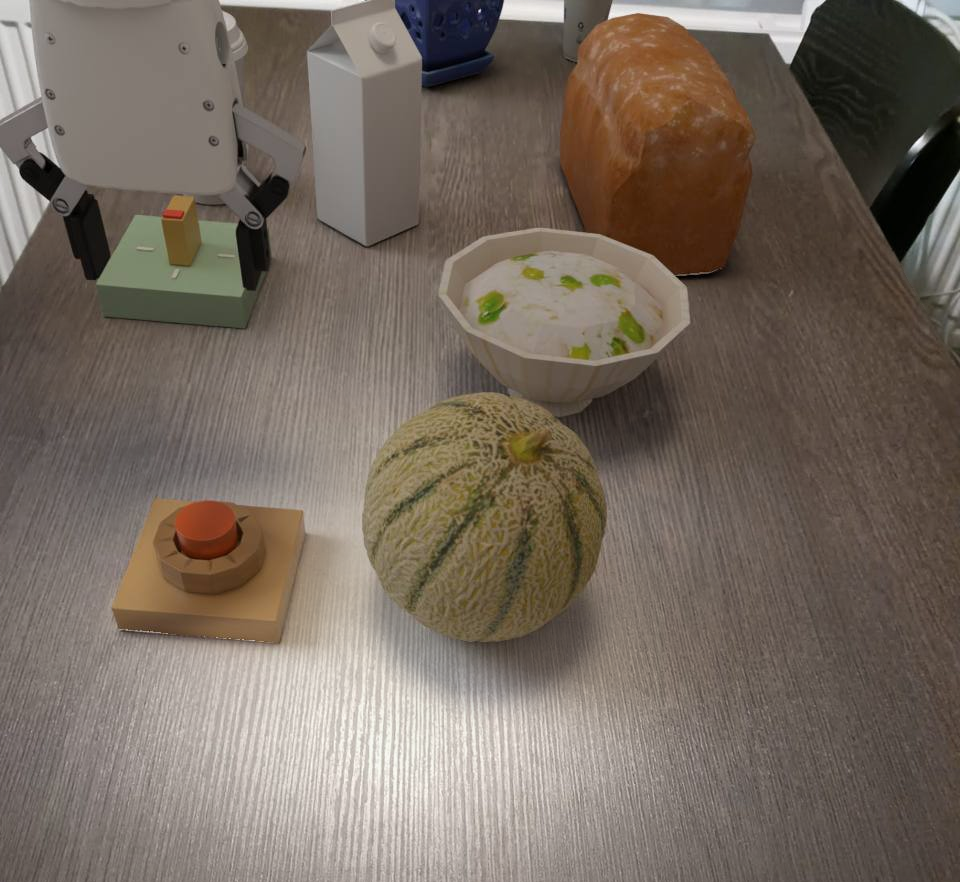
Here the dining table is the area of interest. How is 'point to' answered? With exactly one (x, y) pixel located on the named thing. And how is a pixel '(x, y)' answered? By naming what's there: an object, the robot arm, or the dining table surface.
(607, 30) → the bread
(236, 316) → the plate
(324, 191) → the milk carton
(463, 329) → the bowl
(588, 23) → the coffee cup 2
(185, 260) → the wooden block red tab
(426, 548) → the cantaloupe
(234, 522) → the bell button
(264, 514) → the tan square stand
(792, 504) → the dining table surface
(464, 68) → the flower pot
